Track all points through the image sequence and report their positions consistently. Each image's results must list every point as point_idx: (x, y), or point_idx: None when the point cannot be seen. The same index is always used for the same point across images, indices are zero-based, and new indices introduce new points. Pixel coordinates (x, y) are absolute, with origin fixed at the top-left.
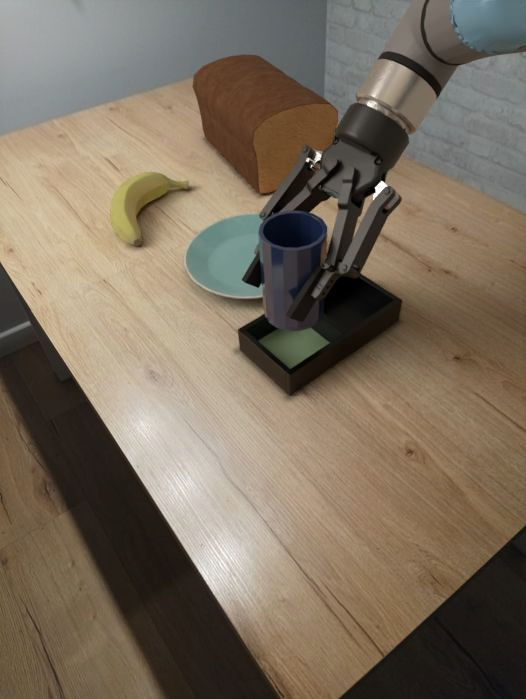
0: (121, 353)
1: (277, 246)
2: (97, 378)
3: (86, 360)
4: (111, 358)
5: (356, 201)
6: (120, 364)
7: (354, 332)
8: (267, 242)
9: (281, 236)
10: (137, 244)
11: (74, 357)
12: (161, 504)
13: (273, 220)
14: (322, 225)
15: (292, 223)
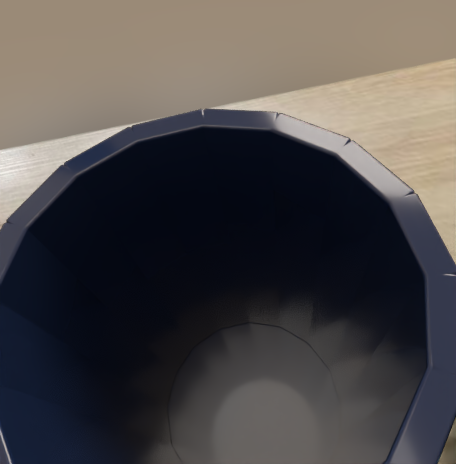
0: (406, 128)
1: (107, 149)
2: (360, 94)
3: (409, 85)
4: (399, 115)
5: None
6: (378, 124)
7: None
8: (171, 123)
9: (382, 349)
10: None
11: (423, 72)
12: (107, 129)
13: (396, 242)
14: None
15: (392, 406)
